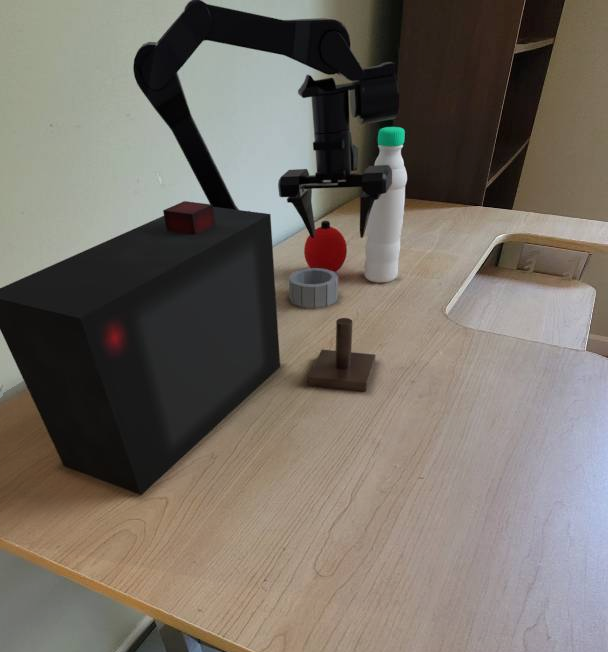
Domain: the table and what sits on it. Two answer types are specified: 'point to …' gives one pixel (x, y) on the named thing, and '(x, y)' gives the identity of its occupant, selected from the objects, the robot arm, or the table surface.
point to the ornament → (325, 248)
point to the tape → (313, 287)
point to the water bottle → (387, 211)
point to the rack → (342, 363)
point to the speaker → (147, 339)
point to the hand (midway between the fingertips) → (337, 237)
